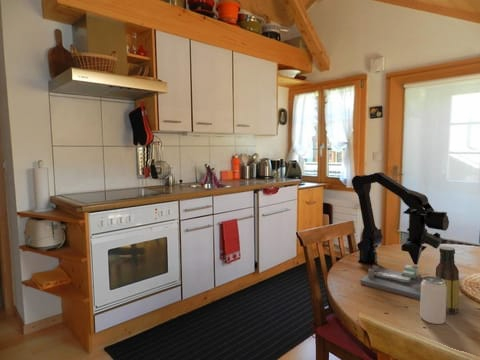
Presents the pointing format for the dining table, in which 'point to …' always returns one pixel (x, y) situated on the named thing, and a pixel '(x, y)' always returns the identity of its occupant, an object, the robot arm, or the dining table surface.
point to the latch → (410, 271)
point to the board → (393, 283)
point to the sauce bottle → (449, 278)
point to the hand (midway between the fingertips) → (415, 264)
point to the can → (433, 300)
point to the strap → (392, 276)
